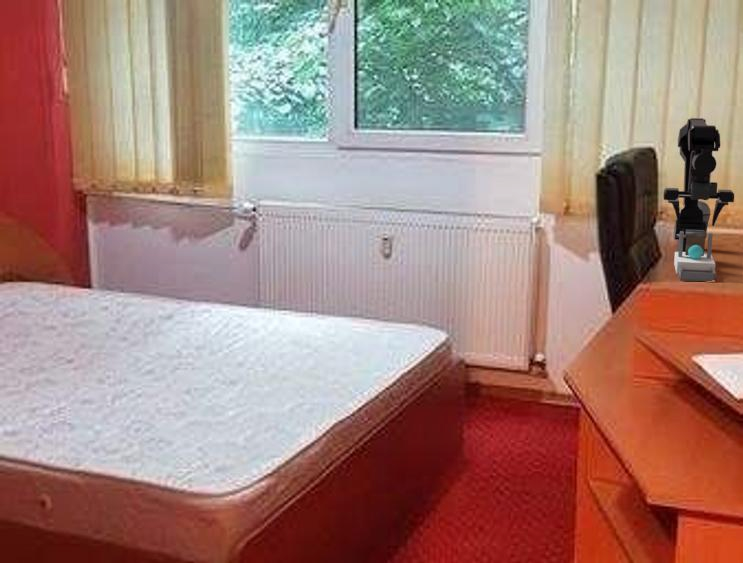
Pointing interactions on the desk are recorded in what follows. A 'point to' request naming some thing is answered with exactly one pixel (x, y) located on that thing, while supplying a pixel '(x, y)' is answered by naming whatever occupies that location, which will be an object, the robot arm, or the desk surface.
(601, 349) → the desk surface
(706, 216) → the beverage cup
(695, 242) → the lever
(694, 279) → the tray
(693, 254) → the ball
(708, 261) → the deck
